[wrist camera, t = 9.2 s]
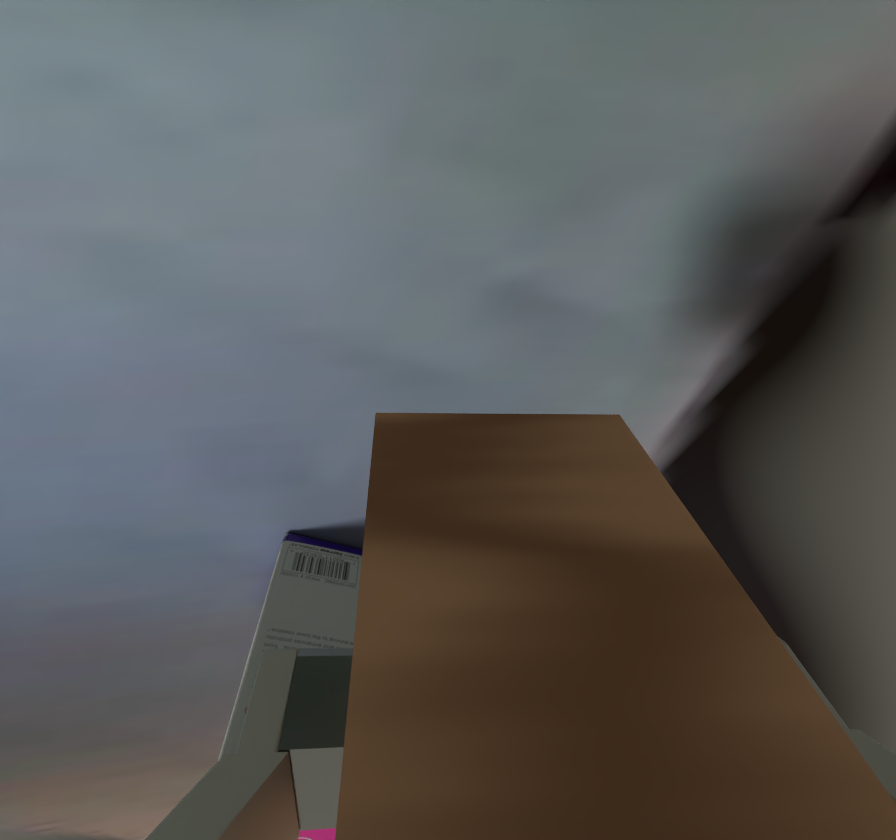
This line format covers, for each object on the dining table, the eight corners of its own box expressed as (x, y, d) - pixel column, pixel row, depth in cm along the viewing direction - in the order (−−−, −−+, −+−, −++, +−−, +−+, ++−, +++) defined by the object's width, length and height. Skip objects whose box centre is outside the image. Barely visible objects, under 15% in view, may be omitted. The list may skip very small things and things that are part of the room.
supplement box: (261, 613, 31) (187, 859, 21) (285, 528, 28) (214, 760, 18) (367, 635, 32) (346, 878, 22) (399, 555, 29) (392, 787, 19)
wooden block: (378, 598, 14) (345, 1241, 6) (375, 412, 12) (313, 1064, 4) (582, 594, 14) (804, 1194, 6) (619, 414, 12) (1039, 1006, 4)
